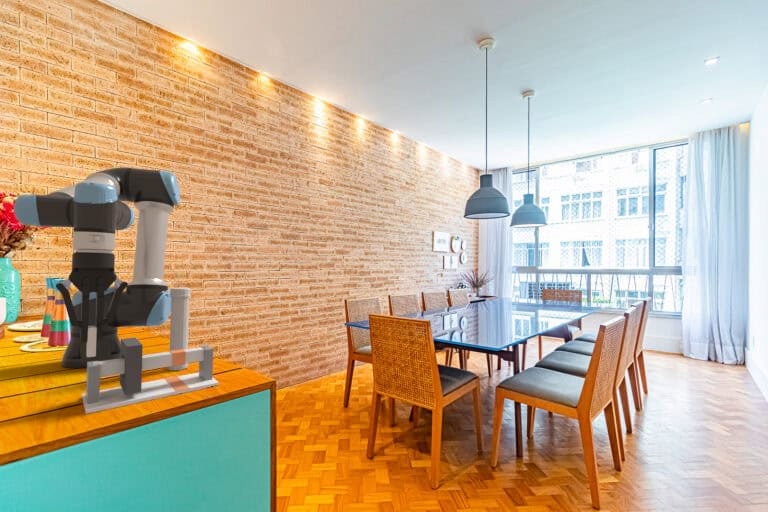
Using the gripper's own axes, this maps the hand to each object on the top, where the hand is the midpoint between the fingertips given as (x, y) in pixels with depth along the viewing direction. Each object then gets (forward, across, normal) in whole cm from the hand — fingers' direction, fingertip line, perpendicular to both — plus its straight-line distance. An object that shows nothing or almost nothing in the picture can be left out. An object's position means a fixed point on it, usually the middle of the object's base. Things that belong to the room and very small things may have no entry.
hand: (91, 355), depth 81 cm
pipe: (+11, +22, +17) cm, 30 cm away
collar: (+9, +8, 0) cm, 12 cm away
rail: (+11, +12, 0) cm, 17 cm away
